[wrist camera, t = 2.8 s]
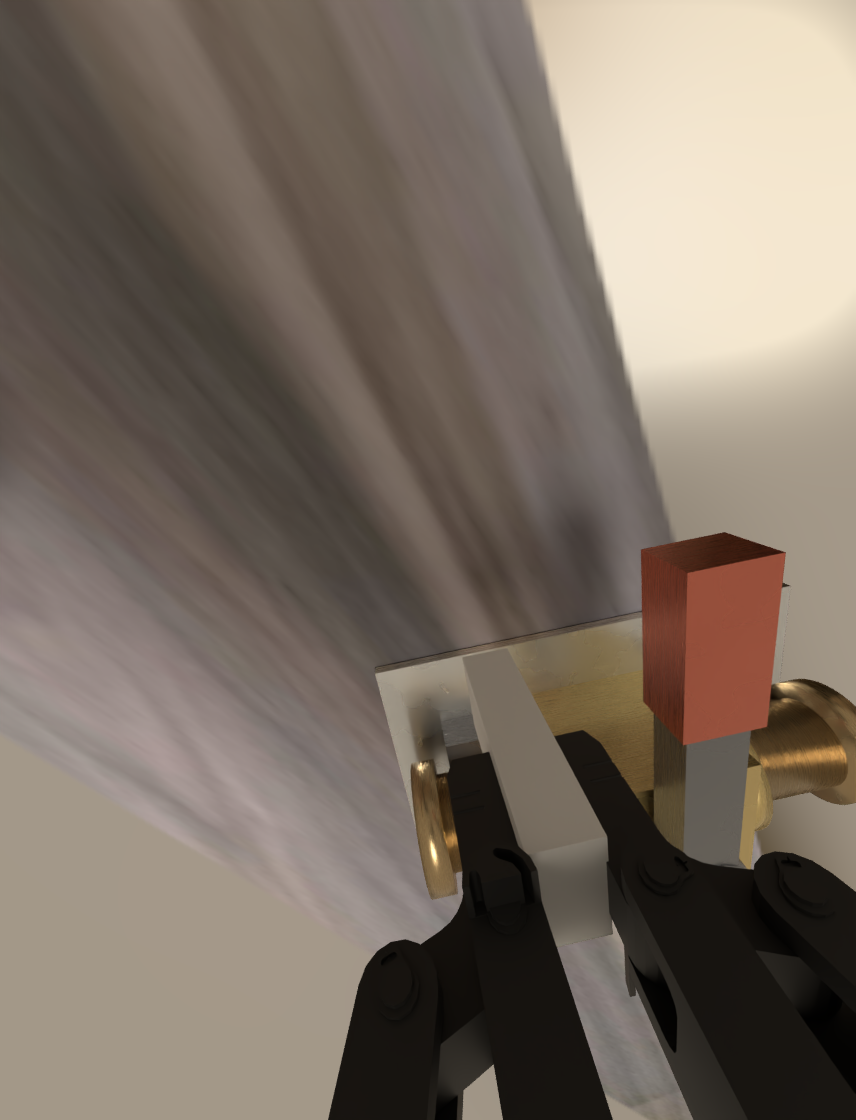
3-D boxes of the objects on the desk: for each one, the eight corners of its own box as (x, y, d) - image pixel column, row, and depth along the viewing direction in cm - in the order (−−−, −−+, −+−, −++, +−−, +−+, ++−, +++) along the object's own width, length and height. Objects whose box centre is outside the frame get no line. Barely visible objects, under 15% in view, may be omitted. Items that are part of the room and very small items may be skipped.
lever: (715, 871, 19) (758, 930, 17) (631, 891, 19) (663, 953, 17) (738, 527, 14) (806, 547, 11) (620, 551, 14) (666, 577, 11)
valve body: (421, 843, 28) (434, 998, 21) (375, 667, 24) (370, 784, 16) (761, 766, 29) (894, 889, 21) (781, 582, 24) (959, 654, 17)
